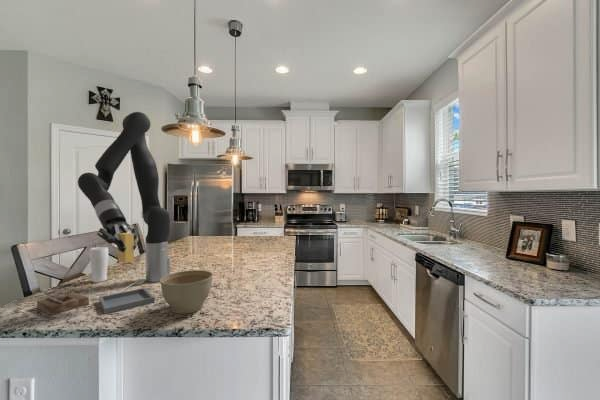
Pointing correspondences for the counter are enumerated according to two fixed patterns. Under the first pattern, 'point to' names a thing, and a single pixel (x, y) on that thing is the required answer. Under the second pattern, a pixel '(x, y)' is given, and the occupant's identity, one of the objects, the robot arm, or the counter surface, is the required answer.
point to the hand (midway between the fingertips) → (129, 249)
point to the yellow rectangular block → (127, 248)
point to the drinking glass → (99, 263)
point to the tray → (125, 300)
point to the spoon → (133, 284)
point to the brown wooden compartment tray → (62, 303)
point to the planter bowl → (186, 290)
